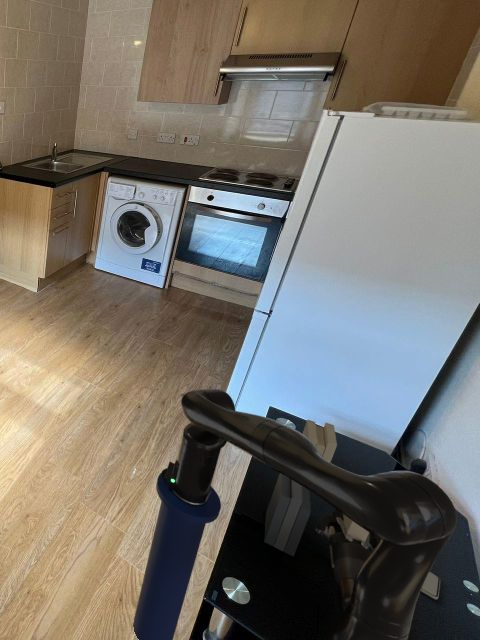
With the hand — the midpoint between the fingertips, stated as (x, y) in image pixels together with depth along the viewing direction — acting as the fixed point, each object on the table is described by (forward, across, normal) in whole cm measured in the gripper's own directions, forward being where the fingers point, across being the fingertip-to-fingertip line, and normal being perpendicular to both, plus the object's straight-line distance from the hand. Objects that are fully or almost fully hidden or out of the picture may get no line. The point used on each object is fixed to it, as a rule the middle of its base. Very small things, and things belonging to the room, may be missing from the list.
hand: (348, 515), depth 96 cm
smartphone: (+5, -11, +12) cm, 17 cm away
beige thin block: (-3, 0, +9) cm, 9 cm away
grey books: (-3, +11, +12) cm, 16 cm away
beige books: (+25, +5, +12) cm, 28 cm away
